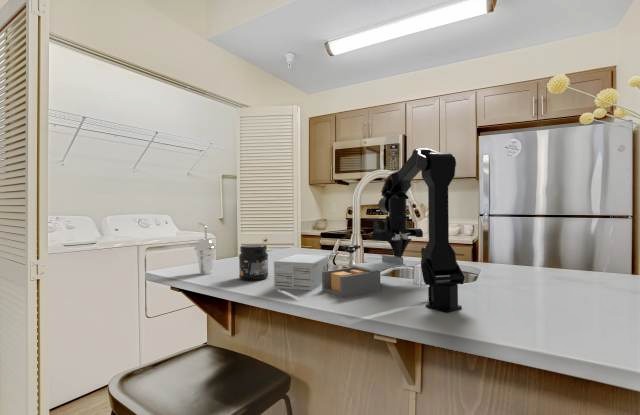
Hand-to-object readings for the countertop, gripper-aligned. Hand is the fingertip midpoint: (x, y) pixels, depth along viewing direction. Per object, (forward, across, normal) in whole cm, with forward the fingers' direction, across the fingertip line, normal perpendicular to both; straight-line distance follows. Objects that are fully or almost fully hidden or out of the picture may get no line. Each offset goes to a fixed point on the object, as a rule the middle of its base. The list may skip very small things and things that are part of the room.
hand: (398, 259), depth 112 cm
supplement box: (+8, +27, -17) cm, 33 cm away
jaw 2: (+7, +16, 0) cm, 18 cm away
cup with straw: (+8, +48, -57) cm, 75 cm away
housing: (+8, +20, 0) cm, 22 cm away
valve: (+8, +8, -15) cm, 19 cm away
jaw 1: (+7, +24, 0) cm, 25 cm away
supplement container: (+8, +36, -37) cm, 52 cm away
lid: (+1, +9, 0) cm, 9 cm away
